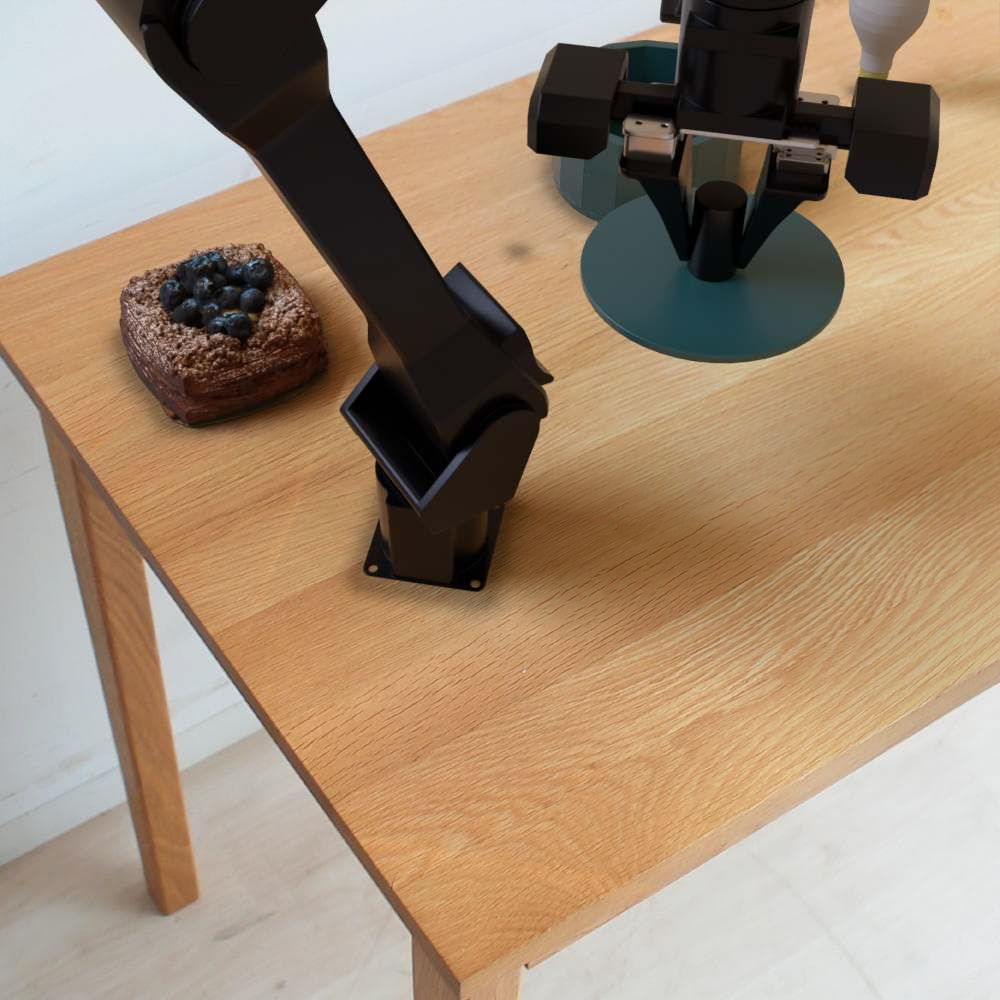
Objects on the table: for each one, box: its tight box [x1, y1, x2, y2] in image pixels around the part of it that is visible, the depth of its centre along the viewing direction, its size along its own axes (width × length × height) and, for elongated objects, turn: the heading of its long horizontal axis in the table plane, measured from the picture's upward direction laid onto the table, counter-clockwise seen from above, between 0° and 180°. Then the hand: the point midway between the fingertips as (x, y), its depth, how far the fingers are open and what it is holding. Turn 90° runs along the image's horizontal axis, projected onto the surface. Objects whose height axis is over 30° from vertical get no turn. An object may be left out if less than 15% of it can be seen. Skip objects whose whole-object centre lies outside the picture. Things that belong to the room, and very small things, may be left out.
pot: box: [551, 39, 744, 223], centre depth 97 cm, size 13×13×6 cm
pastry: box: [118, 242, 331, 427], centre depth 85 cm, size 11×12×6 cm
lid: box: [579, 180, 846, 364], centre depth 73 cm, size 14×14×6 cm
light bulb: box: [848, 0, 931, 80], centre depth 102 cm, size 6×5×10 cm
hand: (713, 259), depth 74 cm, fingers closed on lid, 2 cm apart
